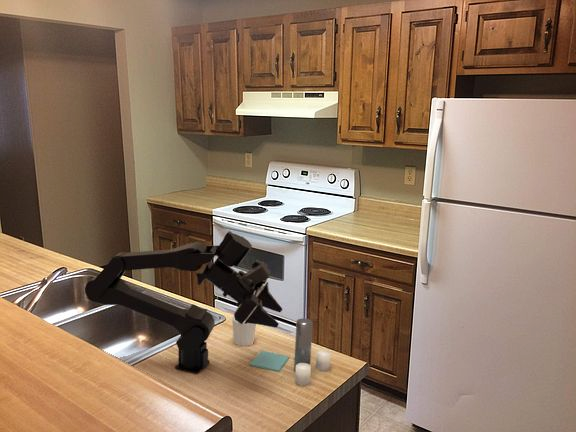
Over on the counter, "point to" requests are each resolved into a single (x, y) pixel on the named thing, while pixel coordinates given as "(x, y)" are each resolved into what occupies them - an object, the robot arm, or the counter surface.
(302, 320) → the dark metallic domed cylinder
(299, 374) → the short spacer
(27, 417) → the counter surface
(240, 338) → the white cylinder
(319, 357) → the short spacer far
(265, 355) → the teal pad
